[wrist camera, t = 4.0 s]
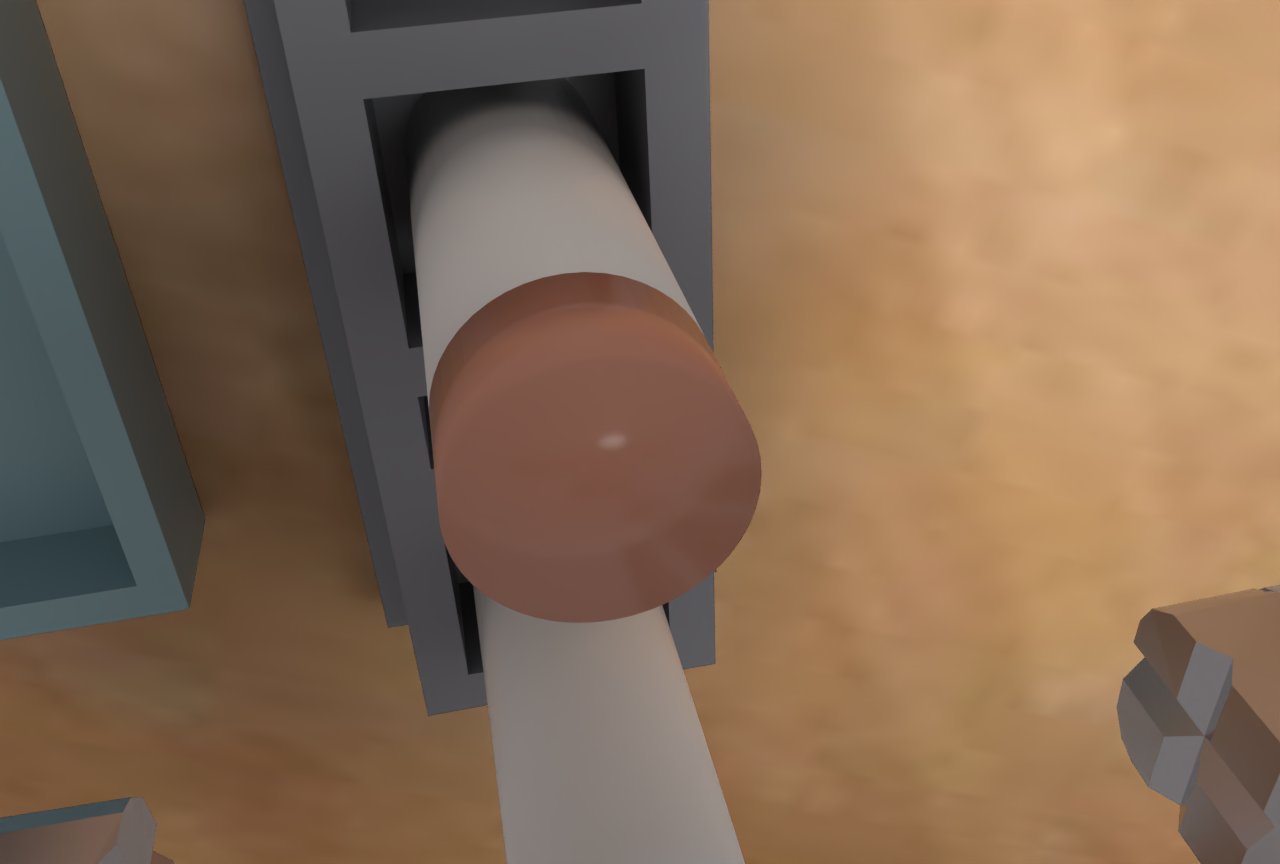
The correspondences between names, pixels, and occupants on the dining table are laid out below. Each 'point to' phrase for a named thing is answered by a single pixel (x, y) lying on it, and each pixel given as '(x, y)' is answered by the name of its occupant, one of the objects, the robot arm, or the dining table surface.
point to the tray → (75, 383)
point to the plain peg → (598, 743)
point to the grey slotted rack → (384, 252)
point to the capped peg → (563, 366)
